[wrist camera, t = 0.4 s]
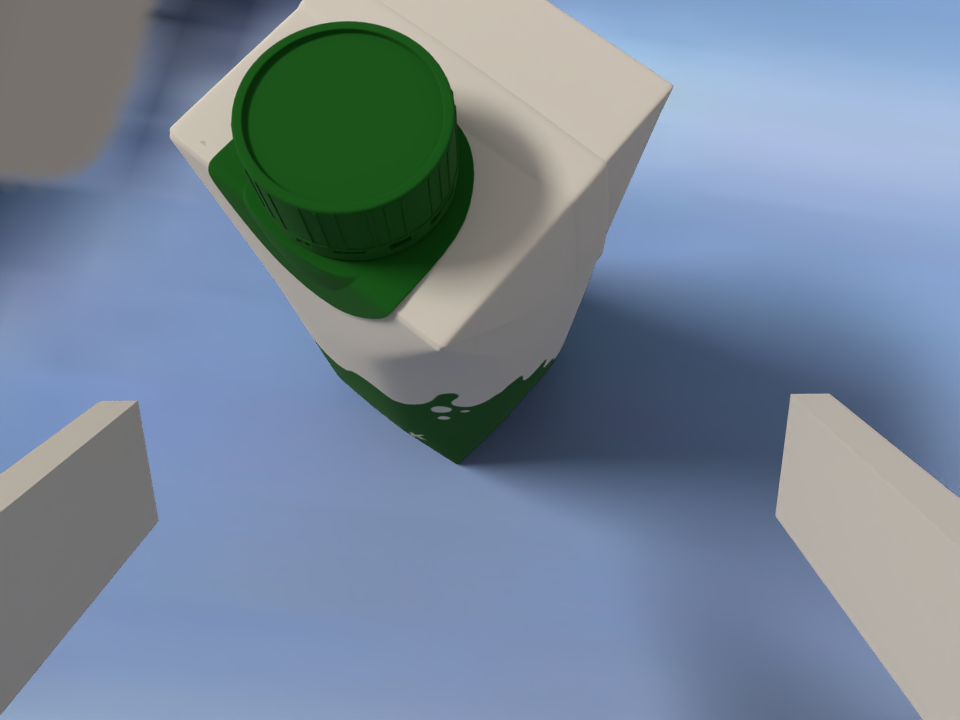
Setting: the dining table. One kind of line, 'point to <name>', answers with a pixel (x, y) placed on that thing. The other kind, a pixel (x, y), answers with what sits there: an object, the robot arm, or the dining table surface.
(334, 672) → the dining table surface
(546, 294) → the milk carton
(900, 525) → the robot arm
